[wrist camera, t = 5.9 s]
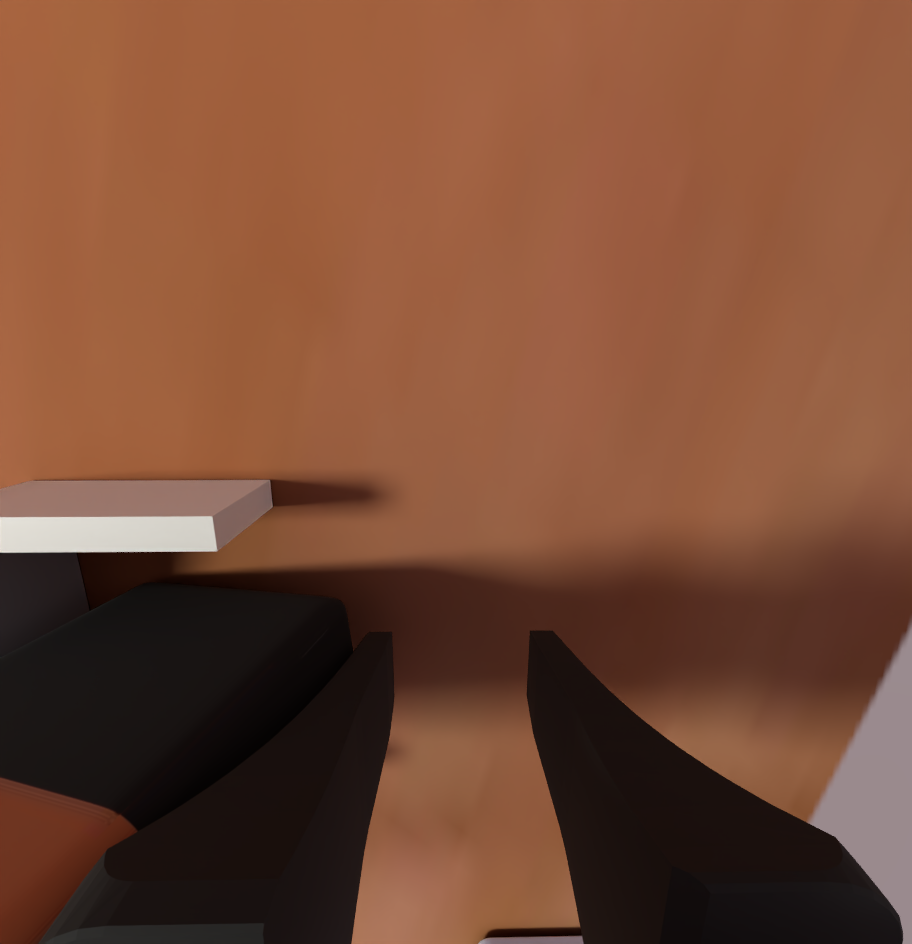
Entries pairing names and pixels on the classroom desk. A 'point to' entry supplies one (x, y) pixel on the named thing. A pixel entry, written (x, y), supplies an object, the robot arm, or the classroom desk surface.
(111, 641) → the battery
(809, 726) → the classroom desk surface
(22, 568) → the charging bay
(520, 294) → the classroom desk surface
